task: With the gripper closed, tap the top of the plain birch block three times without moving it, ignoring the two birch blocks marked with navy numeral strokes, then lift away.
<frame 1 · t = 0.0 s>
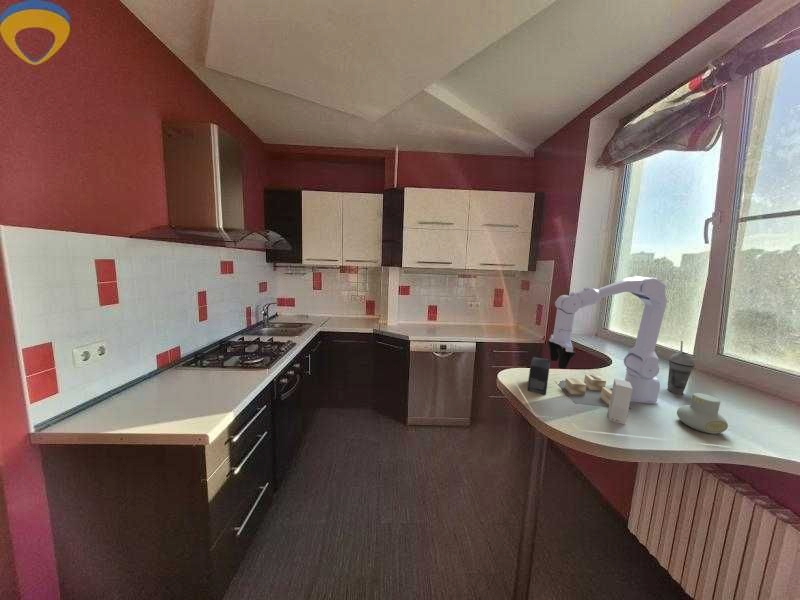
hand: (557, 364, 109), 10 cm above the countertop, fingers open, 7 cm apart
skincare box: (616, 419, 93), on the countertop
air freshener: (698, 428, 91), on the countertop
plain block: (574, 391, 110), resting on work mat
beverage cup: (675, 391, 116), on the countertop
marked block a: (611, 401, 103), resting on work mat
small box: (537, 389, 112), on the countertop
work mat: (588, 393, 109), on the countertop
marked block b: (593, 387, 114), resting on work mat
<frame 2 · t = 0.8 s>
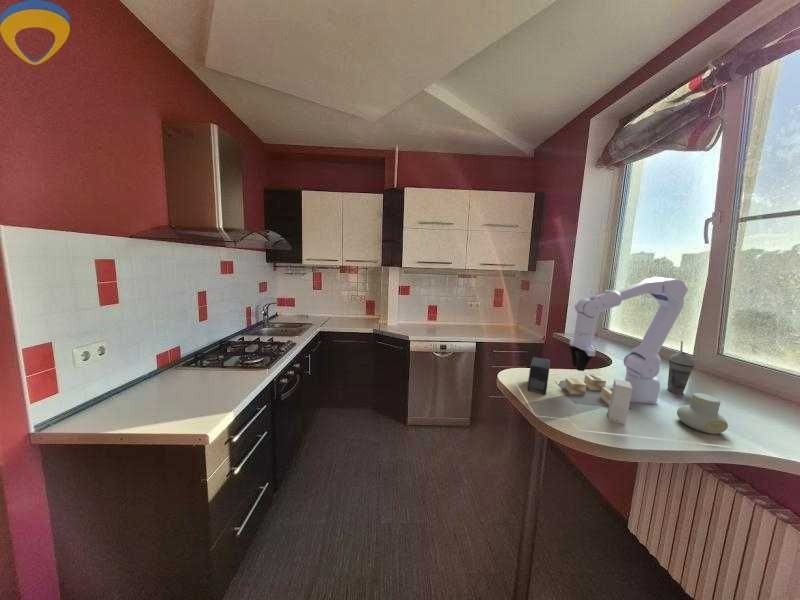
hand: (578, 368, 108), 9 cm above the countertop, fingers open, 3 cm apart
nothing on the countertop moved.
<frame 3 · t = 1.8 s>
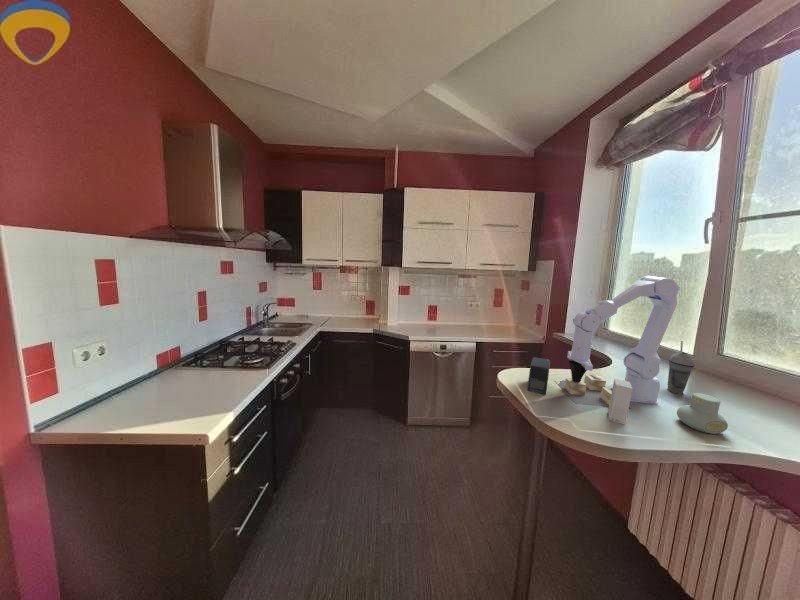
hand: (575, 381, 109), 4 cm above the countertop, fingers closed, pressing on plain block
plain block: (574, 391, 110), resting on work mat, touching gripper
everything else where it was.
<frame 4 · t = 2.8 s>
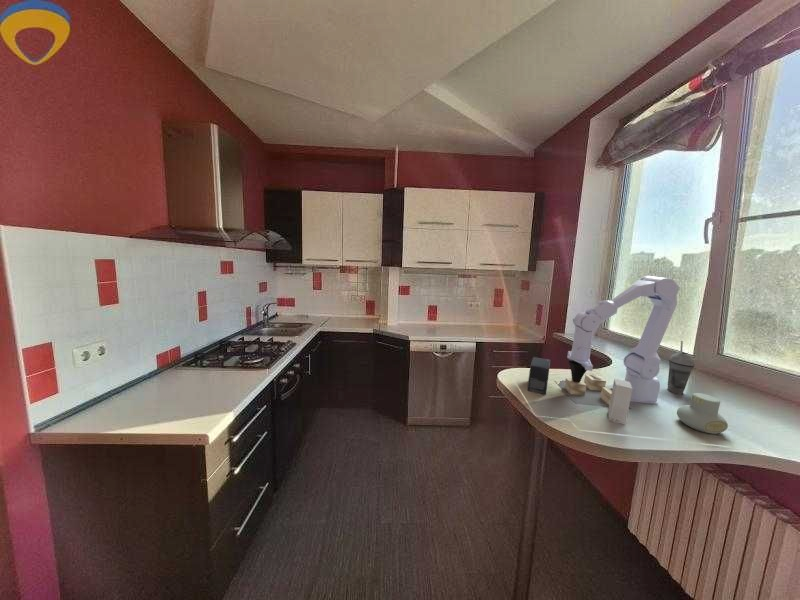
hand: (575, 381, 109), 4 cm above the countertop, fingers closed, pressing on plain block
plain block: (574, 391, 110), resting on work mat, touching gripper
everything else where it was.
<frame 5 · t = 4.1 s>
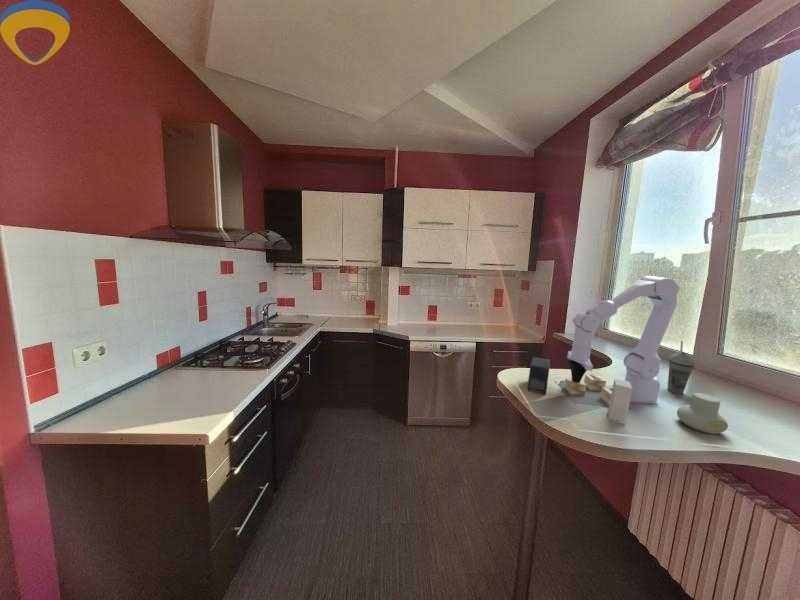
hand: (575, 381, 109), 4 cm above the countertop, fingers closed, pressing on plain block
plain block: (574, 391, 110), resting on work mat, touching gripper
everything else where it was.
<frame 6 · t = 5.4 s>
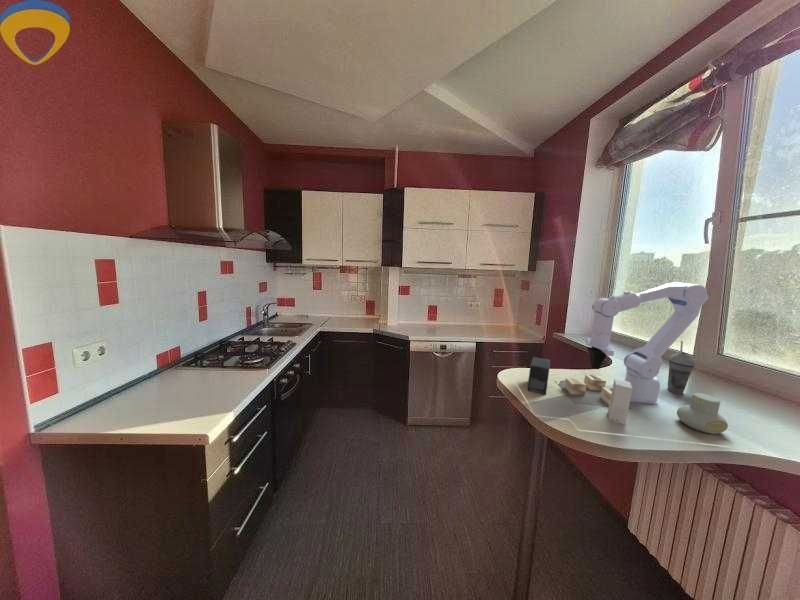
hand: (595, 368, 108), 10 cm above the countertop, fingers closed
plain block: (574, 391, 110), resting on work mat
everything else where it was.
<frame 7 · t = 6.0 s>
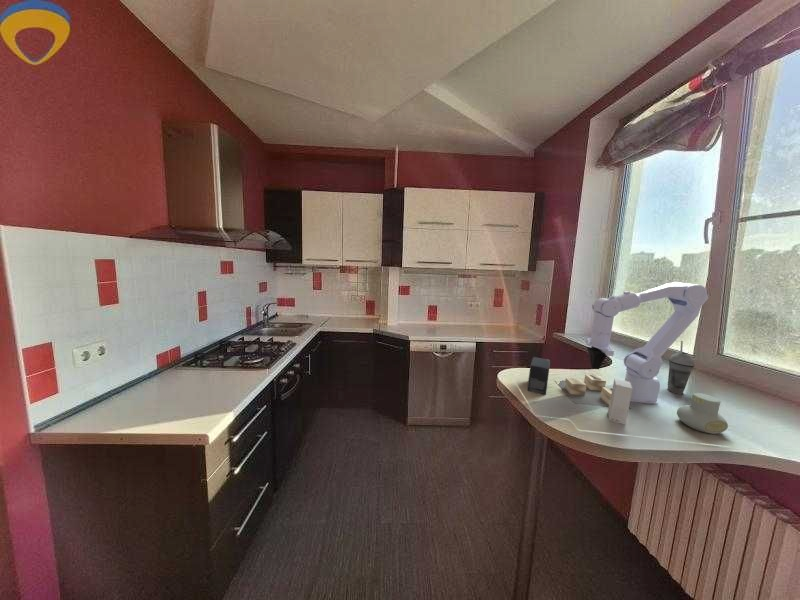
hand: (595, 368, 108), 10 cm above the countertop, fingers closed
nothing on the countertop moved.
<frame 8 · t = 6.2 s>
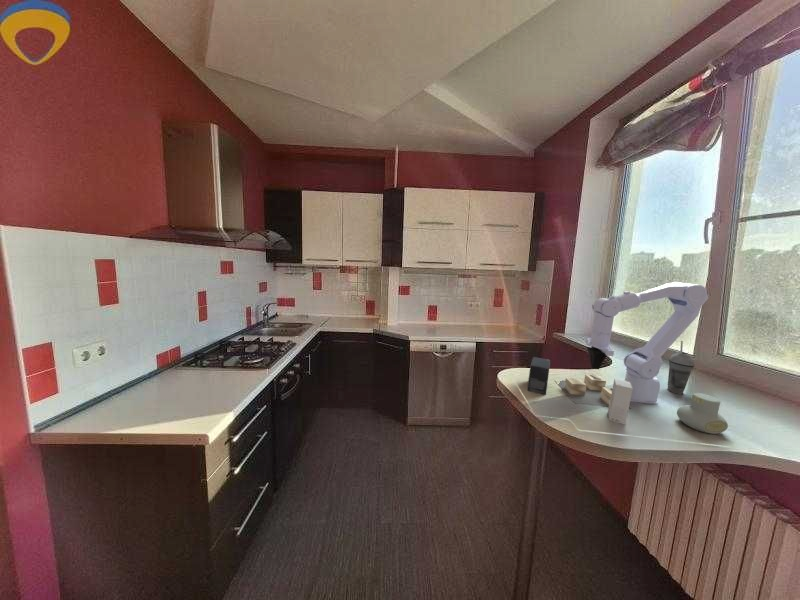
hand: (595, 368, 108), 10 cm above the countertop, fingers closed
nothing on the countertop moved.
at the end: plain block moved 0.0 cm from its start; plain block tilted 0°; marked block b moved 0.0 cm from its start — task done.
